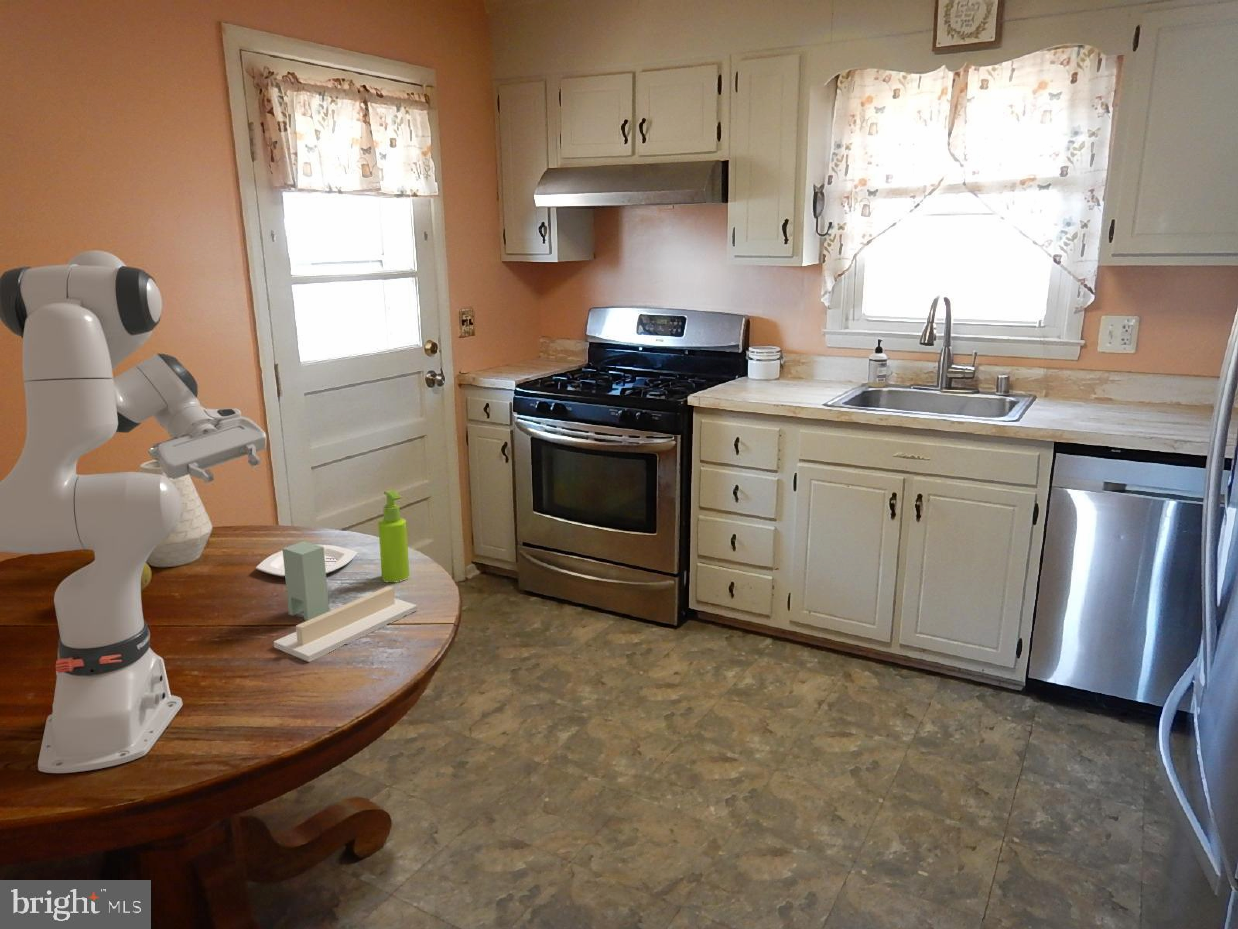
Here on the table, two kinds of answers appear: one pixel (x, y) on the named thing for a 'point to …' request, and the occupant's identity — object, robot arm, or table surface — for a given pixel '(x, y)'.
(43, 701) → the table surface
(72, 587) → the robot arm
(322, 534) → the table surface
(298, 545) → the tall rectangular block
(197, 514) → the vase
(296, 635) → the rail board
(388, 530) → the soap dispenser
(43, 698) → the table surface
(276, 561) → the plate
